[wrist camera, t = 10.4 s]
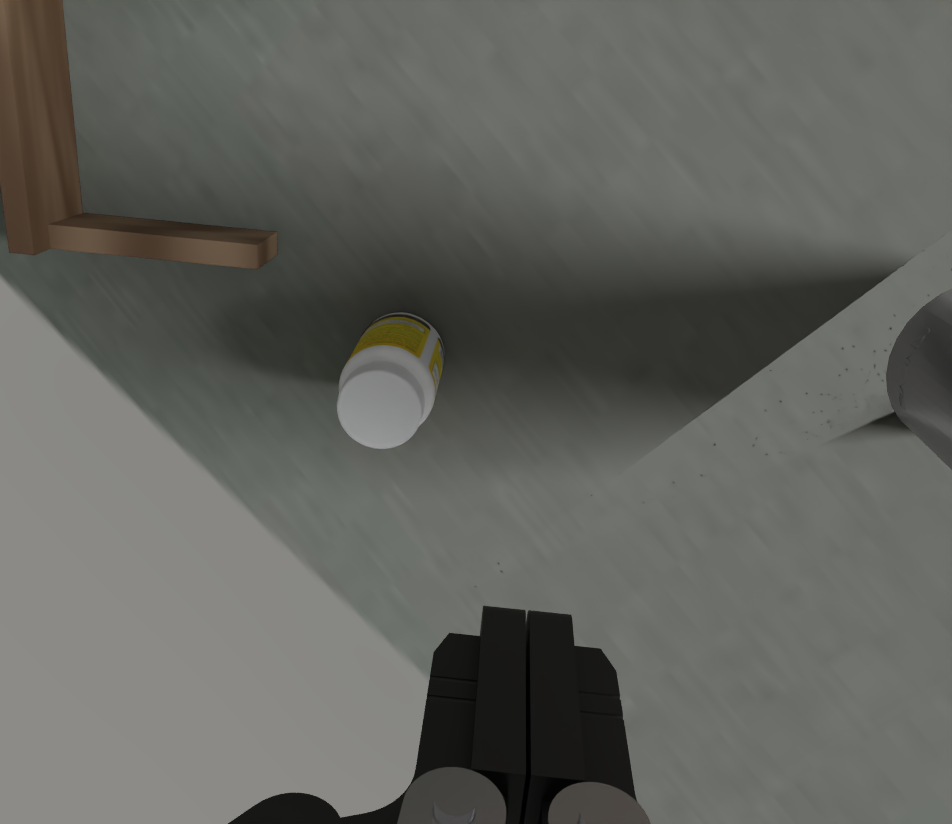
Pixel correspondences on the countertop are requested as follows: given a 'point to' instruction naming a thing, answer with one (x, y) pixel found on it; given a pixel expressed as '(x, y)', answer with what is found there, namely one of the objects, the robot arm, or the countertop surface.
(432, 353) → the supplement bottle
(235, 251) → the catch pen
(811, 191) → the countertop surface
